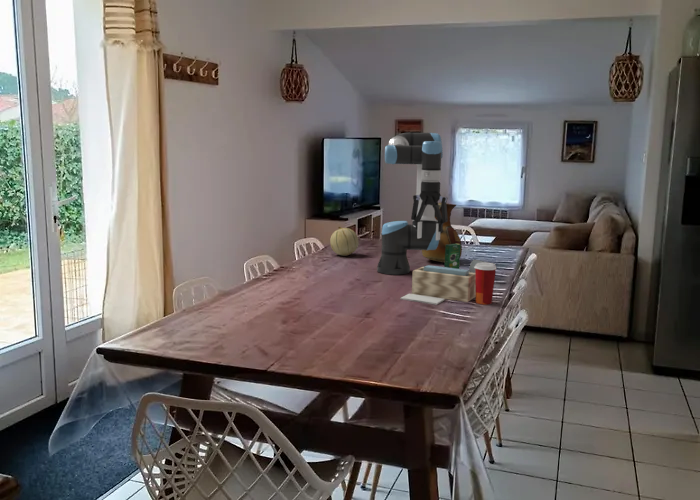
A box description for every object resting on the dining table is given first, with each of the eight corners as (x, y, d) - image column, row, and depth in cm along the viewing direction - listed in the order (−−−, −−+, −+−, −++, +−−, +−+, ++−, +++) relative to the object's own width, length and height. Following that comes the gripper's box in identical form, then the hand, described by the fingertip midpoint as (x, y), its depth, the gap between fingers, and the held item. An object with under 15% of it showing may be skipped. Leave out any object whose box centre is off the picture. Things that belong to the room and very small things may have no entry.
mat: (409, 295, 258) (409, 293, 258) (444, 300, 250) (444, 298, 250) (400, 299, 251) (400, 297, 251) (436, 304, 244) (436, 303, 243)
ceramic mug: (485, 279, 287) (486, 262, 286) (468, 277, 292) (469, 260, 291) (495, 276, 295) (496, 259, 294) (479, 273, 300) (480, 257, 299)
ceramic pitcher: (467, 260, 330) (470, 202, 324) (451, 267, 313) (454, 205, 308) (432, 256, 340) (434, 199, 335) (414, 262, 323) (416, 202, 318)
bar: (468, 280, 254) (468, 270, 253) (464, 282, 251) (465, 271, 250) (427, 274, 262) (427, 265, 262) (423, 276, 259) (424, 266, 258)
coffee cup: (495, 301, 250) (498, 263, 248) (493, 306, 243) (495, 267, 240) (474, 299, 253) (476, 261, 250) (470, 304, 245) (472, 265, 243)
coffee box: (455, 270, 307) (456, 242, 304) (459, 271, 305) (461, 243, 302) (443, 272, 302) (444, 244, 299) (448, 273, 299) (449, 245, 297)
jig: (475, 296, 257) (477, 273, 255) (467, 302, 248) (468, 277, 246) (421, 289, 268) (422, 266, 266) (411, 294, 259) (412, 270, 258)
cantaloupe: (358, 258, 331) (358, 229, 329) (329, 257, 332) (329, 228, 329) (358, 253, 346) (358, 225, 343) (330, 252, 346) (331, 224, 343)
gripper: (403, 180, 255) (401, 237, 259) (451, 183, 245) (449, 242, 250) (411, 179, 262) (409, 235, 266) (458, 181, 252) (455, 240, 256)
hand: (428, 238), depth 258 cm, fingers open, 7 cm apart
